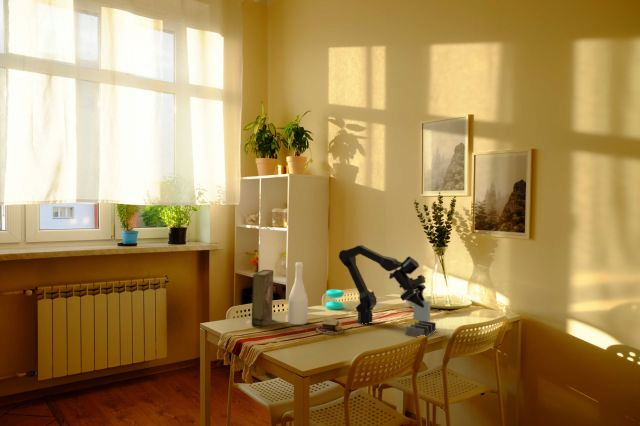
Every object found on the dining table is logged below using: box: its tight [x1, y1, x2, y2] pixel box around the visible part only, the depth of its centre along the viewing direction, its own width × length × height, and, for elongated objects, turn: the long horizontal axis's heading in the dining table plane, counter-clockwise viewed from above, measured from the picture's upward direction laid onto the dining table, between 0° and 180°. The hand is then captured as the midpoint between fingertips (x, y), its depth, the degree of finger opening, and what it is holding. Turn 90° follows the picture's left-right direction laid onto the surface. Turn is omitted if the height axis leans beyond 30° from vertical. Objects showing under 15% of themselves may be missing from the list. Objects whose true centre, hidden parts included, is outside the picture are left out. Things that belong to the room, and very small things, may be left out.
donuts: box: [325, 289, 345, 311], centre depth 288 cm, size 10×10×10 cm
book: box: [251, 269, 274, 327], centre depth 250 cm, size 16×6×25 cm, turn 168°
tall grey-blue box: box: [412, 300, 431, 322], centre depth 240 cm, size 7×3×9 cm, turn 58°
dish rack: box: [404, 320, 437, 338], centre depth 240 cm, size 9×16×4 cm, turn 147°
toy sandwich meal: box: [315, 317, 344, 335], centre depth 239 cm, size 12×14×5 cm
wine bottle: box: [287, 261, 309, 326], centre depth 252 cm, size 10×10×30 cm
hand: (424, 306), depth 239 cm, fingers closed on tall grey-blue box, 3 cm apart
